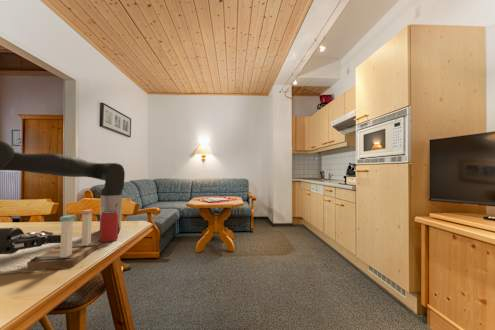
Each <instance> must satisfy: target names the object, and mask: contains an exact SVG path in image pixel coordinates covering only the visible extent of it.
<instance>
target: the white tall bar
mask: <svg viewBox="0 0 495 330" xmlns="http://www.w3.org/2000/svg"><path fill="white" fill-rule="evenodd" d="M80 213H81V215H82V217H81V218H82V220H81V221H82V223H81V244H82V246H87V245H89V244H90V243H92V221H93V220H92V219H93V214H94V209H84V210H81V211H80Z"/></svg>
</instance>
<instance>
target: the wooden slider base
mask: <svg viewBox="0 0 495 330" xmlns="http://www.w3.org/2000/svg"><path fill="white" fill-rule="evenodd" d="M60 247H61V244H59V245H57V246H55V247H54V248H52V249H50V250H49V251H47V252H44V253H43V254H41V255H38V256H35V257H33V258H31V259H30V261H28V262H27V264H26V270H27V271H28V270H40V269H56V268H73V267H75V266H76V265H78V263H80V262H82V261H83V260H85V258H87V257H88V256H90V255H91V254H92V253H93V252H95V251H96V250H97V249H98V248H99V243H98V242H91V243H90V244H89V245H87V246H82V243H72V254H71V255H70V256H68V257H63V258H60Z"/></svg>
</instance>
